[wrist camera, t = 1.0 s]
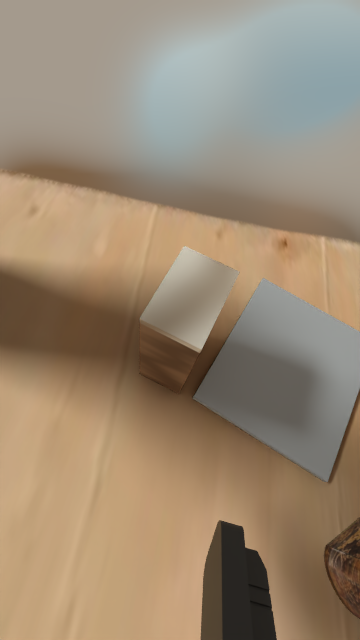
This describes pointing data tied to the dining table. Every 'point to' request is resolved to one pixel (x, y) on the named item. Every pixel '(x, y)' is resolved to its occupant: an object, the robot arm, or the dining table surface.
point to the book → (345, 566)
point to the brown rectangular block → (182, 317)
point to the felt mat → (287, 378)
